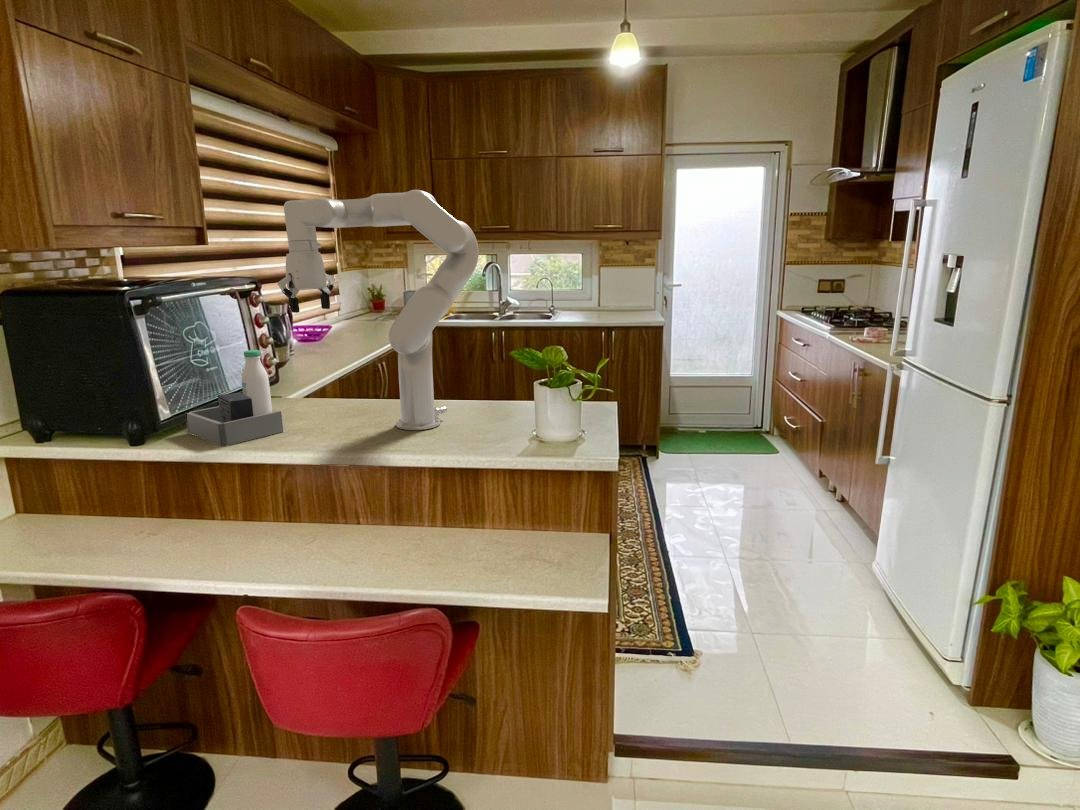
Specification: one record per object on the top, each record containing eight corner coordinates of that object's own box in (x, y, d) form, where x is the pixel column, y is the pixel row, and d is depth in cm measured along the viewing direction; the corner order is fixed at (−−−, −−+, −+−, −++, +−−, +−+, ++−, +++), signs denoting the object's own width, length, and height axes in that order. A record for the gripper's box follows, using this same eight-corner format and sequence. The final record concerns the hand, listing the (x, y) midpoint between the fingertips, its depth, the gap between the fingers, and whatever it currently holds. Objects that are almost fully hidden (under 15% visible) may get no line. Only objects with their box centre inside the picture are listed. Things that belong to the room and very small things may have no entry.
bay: (246, 420, 200) (244, 401, 198) (283, 432, 187) (281, 411, 186) (187, 433, 187) (184, 412, 185) (222, 446, 174) (220, 424, 173)
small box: (257, 434, 186) (253, 397, 183) (233, 438, 182) (228, 401, 179) (244, 426, 194) (240, 391, 191) (221, 430, 190) (216, 394, 187)
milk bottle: (277, 411, 210) (270, 348, 205) (264, 418, 203) (257, 352, 198) (253, 411, 211) (246, 348, 206) (240, 417, 203) (232, 352, 199)
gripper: (322, 247, 191) (329, 307, 195) (266, 249, 178) (275, 313, 182) (338, 246, 186) (345, 307, 190) (281, 248, 173) (290, 314, 177)
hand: (310, 310), depth 186 cm, fingers open, 9 cm apart
